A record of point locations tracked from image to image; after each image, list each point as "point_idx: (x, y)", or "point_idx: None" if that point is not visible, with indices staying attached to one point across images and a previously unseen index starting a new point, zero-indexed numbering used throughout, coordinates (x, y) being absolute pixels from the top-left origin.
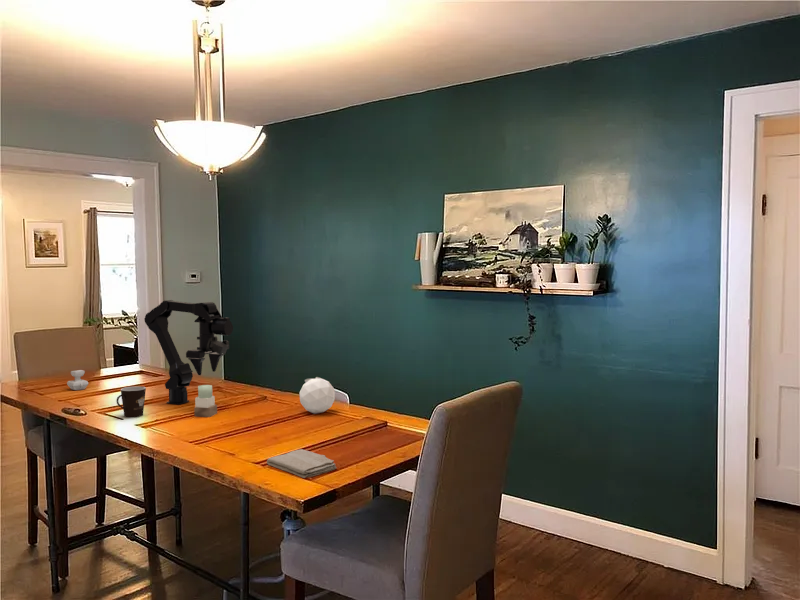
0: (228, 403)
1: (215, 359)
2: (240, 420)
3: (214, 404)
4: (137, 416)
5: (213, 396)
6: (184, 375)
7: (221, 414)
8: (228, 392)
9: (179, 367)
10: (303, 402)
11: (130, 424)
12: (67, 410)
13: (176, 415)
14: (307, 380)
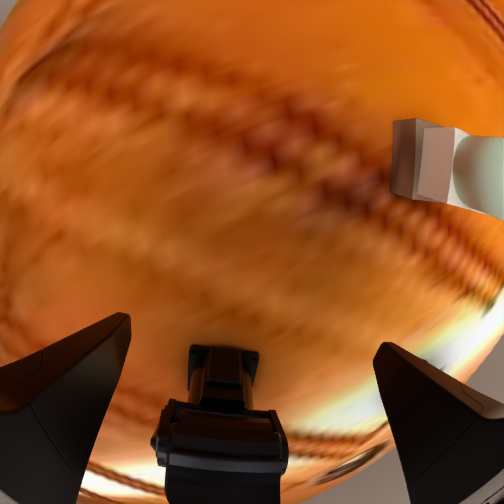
0: (173, 149)
1: (48, 426)
2: (449, 27)
3: (427, 128)
4: (426, 361)
5: (461, 131)
6: (253, 450)
7: (404, 98)
8: (5, 268)
9: (276, 502)
10: None
11: (483, 323)
12: (339, 474)
13: (427, 270)
14: None
